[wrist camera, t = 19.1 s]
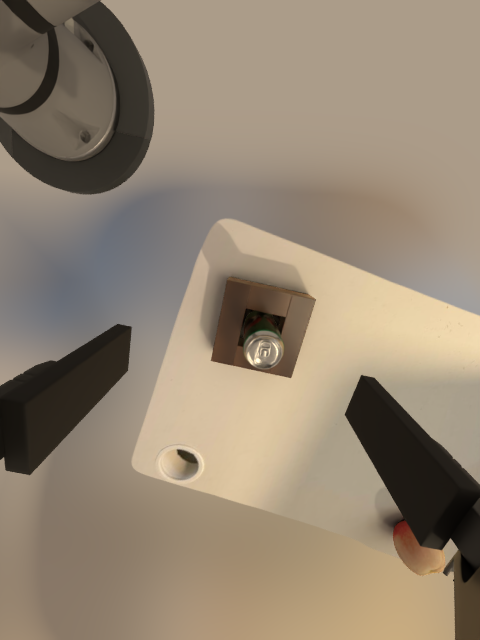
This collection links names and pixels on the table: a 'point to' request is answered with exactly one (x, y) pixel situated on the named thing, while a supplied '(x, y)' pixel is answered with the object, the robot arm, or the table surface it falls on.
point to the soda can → (262, 340)
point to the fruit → (416, 552)
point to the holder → (268, 300)
